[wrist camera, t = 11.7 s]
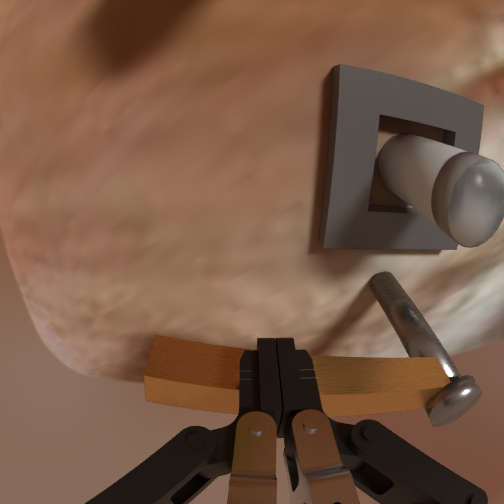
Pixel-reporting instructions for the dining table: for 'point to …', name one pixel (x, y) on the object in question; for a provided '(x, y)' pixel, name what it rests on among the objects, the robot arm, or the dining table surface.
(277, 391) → the robot arm
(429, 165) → the plug
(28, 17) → the dining table surface
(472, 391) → the gate
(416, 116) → the socket collar
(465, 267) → the dining table surface
